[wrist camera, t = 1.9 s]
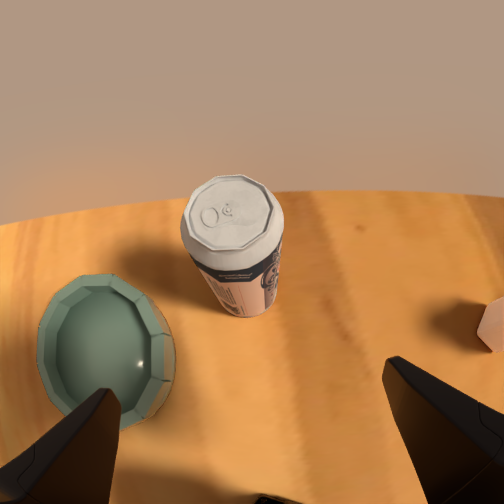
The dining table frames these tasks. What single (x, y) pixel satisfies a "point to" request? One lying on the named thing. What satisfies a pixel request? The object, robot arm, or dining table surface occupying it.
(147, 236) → the dining table surface
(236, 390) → the dining table surface
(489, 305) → the pepper shaker
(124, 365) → the bowl
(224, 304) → the beer can
